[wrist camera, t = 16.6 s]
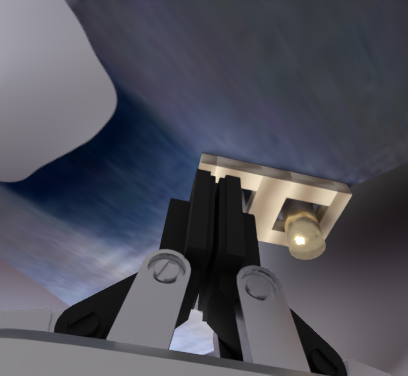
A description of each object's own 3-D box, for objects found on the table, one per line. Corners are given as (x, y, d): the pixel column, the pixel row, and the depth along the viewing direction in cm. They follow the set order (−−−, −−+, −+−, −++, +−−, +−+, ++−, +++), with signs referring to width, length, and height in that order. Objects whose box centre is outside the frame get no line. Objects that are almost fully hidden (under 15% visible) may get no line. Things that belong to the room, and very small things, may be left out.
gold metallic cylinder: (316, 198, 46) (331, 238, 39) (304, 221, 48) (316, 262, 42) (286, 192, 45) (297, 231, 39) (276, 215, 48) (284, 256, 41)
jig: (346, 183, 44) (358, 207, 40) (313, 240, 50) (321, 265, 46) (202, 152, 42) (199, 173, 38) (187, 214, 49) (183, 238, 45)
